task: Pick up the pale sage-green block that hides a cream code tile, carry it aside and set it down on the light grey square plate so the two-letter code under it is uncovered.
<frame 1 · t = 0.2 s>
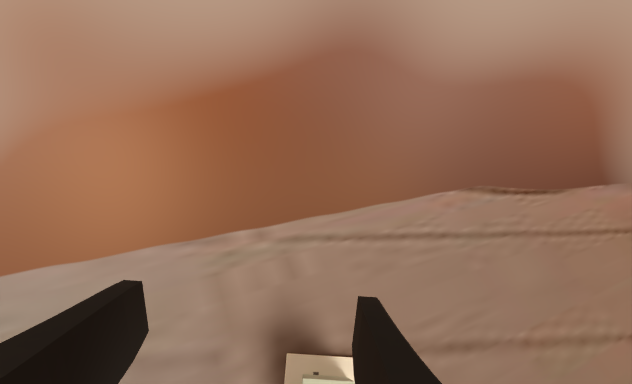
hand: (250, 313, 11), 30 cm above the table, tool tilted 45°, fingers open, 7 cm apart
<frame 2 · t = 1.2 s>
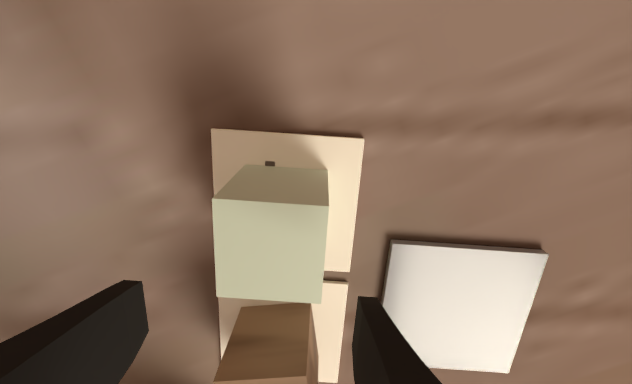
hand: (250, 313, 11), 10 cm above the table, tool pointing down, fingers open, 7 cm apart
sage block: (285, 205, 20), resting on code tile
light grey square plate: (451, 307, 23), on the table
walnut block: (281, 332, 23), resting on plain tile
code tile: (285, 203, 20), on the table
plain tile: (281, 329, 24), on the table
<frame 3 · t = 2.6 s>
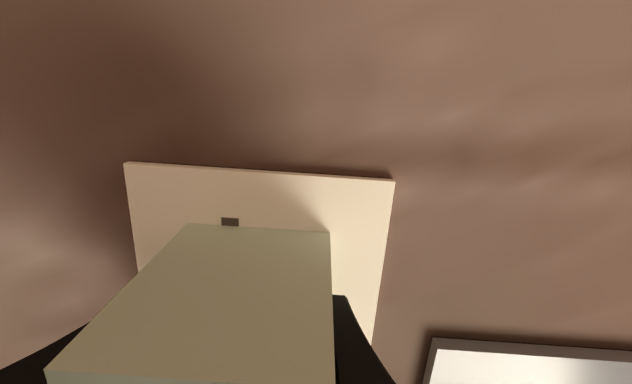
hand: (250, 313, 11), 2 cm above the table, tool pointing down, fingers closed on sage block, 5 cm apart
sage block: (258, 288, 12), resting on code tile, touching gripper
code tile: (260, 283, 12), on the table
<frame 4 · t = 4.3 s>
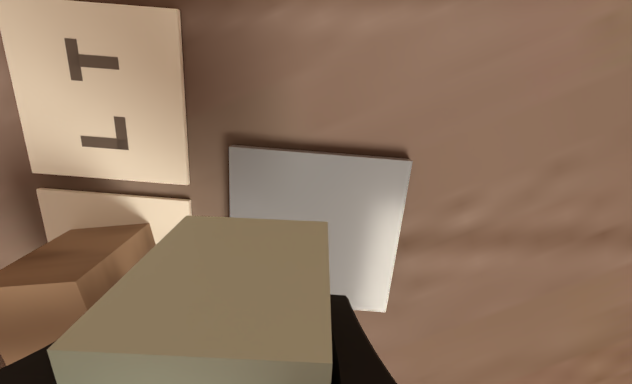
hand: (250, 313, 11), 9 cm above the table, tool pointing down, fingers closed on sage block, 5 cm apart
sage block: (258, 279, 12), point 7 cm above the table, touching gripper
light grey square plate: (314, 232, 19), on the table
walnut block: (121, 262, 20), resting on plain tile
code tile: (102, 97, 17), on the table
plain tile: (124, 259, 20), on the table
when the fingers open (3 cm above the table, at t = 6.0 s): sage block drops 1 cm, resting on light grey square plate.
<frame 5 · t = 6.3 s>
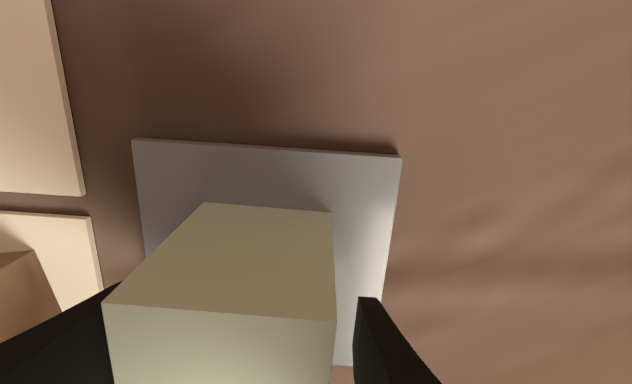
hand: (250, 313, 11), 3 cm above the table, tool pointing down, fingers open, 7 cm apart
sage block: (265, 263, 13), point 1 cm above the table, touching light grey square plate
light grey square plate: (267, 259, 14), on the table
walnut block: (4, 302, 15), resting on plain tile
plain tile: (10, 298, 15), on the table
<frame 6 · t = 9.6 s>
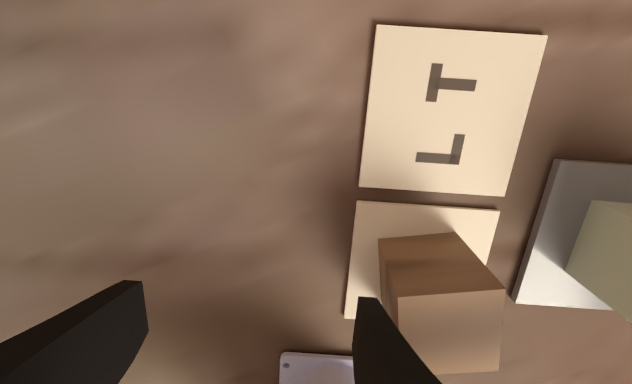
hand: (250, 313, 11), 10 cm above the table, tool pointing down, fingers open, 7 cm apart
sage block: (617, 240, 20), point 1 cm above the table, touching light grey square plate
light grey square plate: (607, 238, 21), on the table
walnut block: (416, 268, 21), resting on plain tile
code tile: (443, 116, 18), on the table
plain tile: (415, 266, 22), on the table
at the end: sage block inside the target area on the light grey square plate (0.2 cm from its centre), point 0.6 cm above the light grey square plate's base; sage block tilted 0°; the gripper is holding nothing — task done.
